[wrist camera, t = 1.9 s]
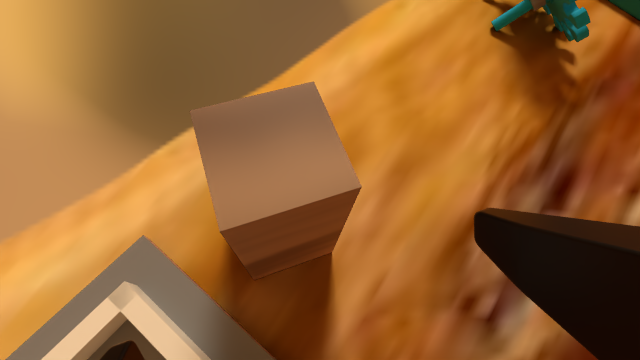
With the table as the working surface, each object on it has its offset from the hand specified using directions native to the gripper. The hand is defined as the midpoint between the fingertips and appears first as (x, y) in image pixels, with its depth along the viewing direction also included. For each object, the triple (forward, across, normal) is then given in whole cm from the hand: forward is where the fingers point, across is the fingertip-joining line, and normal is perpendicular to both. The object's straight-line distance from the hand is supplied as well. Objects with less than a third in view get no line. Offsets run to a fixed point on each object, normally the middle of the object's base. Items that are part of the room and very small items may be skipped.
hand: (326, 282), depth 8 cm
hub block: (+12, 0, +5) cm, 13 cm away
